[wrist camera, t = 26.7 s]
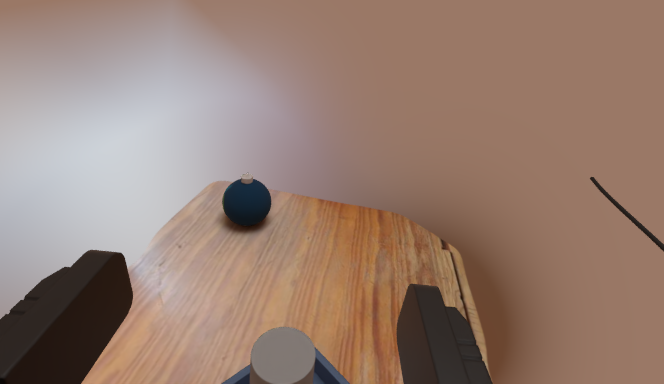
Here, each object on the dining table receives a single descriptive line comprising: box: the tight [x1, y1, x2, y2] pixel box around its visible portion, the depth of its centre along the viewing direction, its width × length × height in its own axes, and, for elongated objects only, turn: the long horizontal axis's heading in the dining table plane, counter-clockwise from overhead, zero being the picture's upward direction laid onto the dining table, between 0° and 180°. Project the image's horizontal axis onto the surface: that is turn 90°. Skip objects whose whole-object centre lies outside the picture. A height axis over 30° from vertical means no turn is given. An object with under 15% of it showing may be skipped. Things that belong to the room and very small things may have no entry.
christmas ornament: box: [222, 174, 271, 226], centre depth 61 cm, size 8×8×10 cm
